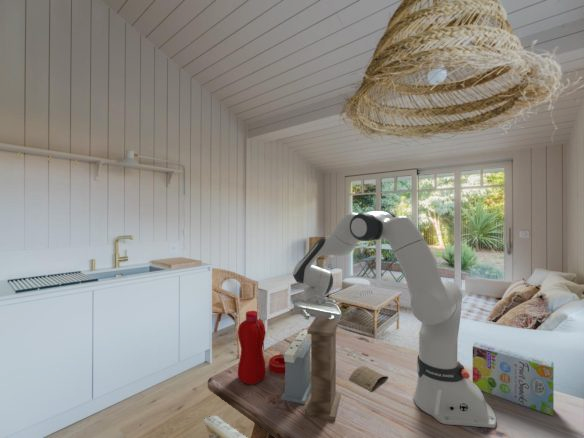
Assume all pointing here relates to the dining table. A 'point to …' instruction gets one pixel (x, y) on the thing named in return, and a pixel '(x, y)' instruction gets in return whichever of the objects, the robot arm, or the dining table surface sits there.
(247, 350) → the water bottle
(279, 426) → the dining table surface
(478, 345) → the snack box
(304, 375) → the slate stand
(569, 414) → the dining table surface
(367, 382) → the clay tablet
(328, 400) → the walnut pedestal
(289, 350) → the domino bar
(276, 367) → the decorative ornament
